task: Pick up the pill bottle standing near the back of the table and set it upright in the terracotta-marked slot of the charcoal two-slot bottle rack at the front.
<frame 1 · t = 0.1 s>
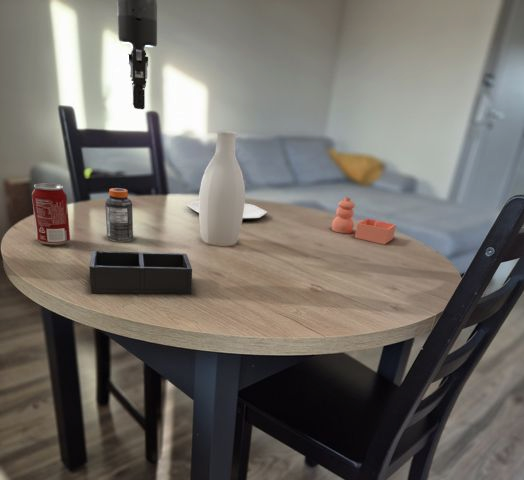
hand: (138, 107, 102), 28 cm above the table, tool pointing down, fingers open, 8 cm apart
pill bottle: (120, 239, 114), on the table
bottle: (219, 242, 121), on the table
soda can: (53, 243, 106), on the table
plate: (227, 213, 150), on the table
pottery: (359, 235, 144), on the table
bottle rack: (141, 284, 90), on the table
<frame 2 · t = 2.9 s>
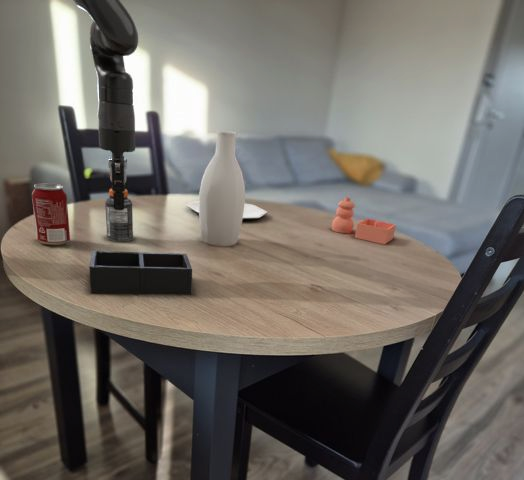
hand: (119, 206, 110), 8 cm above the table, tool pointing down, fingers closed on pill bottle, 6 cm apart
pill bottle: (120, 239, 114), on the table, touching gripper
everything else where it was.
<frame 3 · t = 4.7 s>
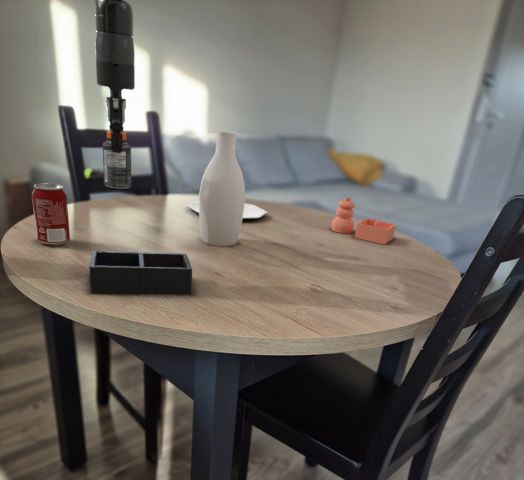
hand: (117, 150, 105), 20 cm above the table, tool pointing down, fingers closed on pill bottle, 6 cm apart
pill bottle: (117, 187, 108), point 12 cm above the table, touching gripper
everything else where it was.
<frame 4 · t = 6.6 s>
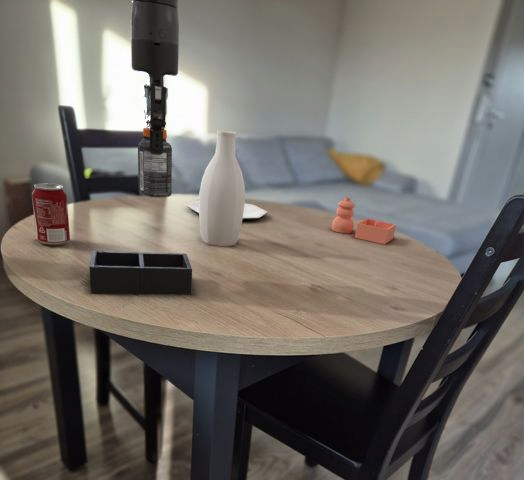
hand: (155, 151, 85), 23 cm above the table, tool pointing down, fingers closed on pill bottle, 6 cm apart
pill bottle: (155, 196, 89), point 15 cm above the table, touching gripper
everything else where it was.
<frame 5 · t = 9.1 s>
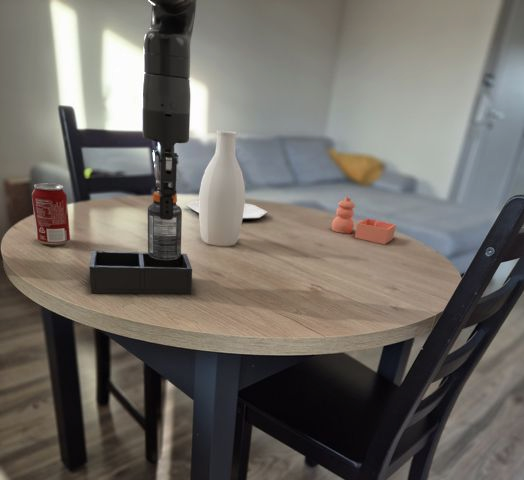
hand: (164, 214, 85), 13 cm above the table, tool pointing down, fingers closed on pill bottle, 6 cm apart
pill bottle: (164, 256, 88), point 5 cm above the table, touching gripper
everything else where it was.
when the fingers open (9 cm above the table, at t = 10.8 s): pill bottle stays where it is, resting on bottle rack.
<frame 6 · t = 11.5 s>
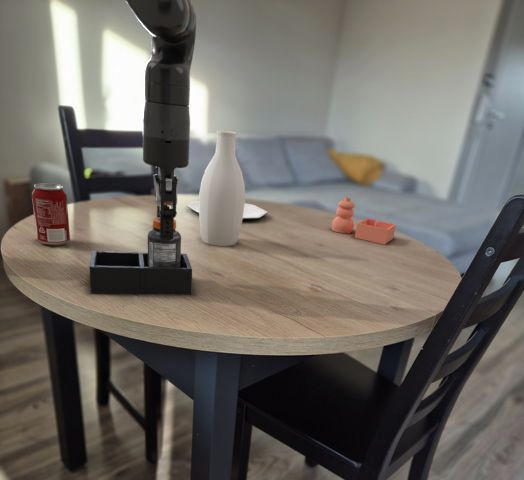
hand: (164, 232, 86), 10 cm above the table, tool pointing down, fingers open, 8 cm apart
pill bottle: (164, 280, 90), point 1 cm above the table, touching bottle rack
everything else where it was.
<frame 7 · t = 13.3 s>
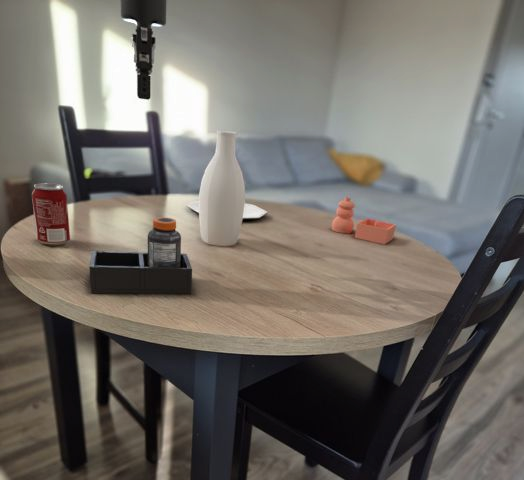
hand: (143, 98, 87), 31 cm above the table, tool pointing down, fingers open, 8 cm apart
nothing on the table moved.
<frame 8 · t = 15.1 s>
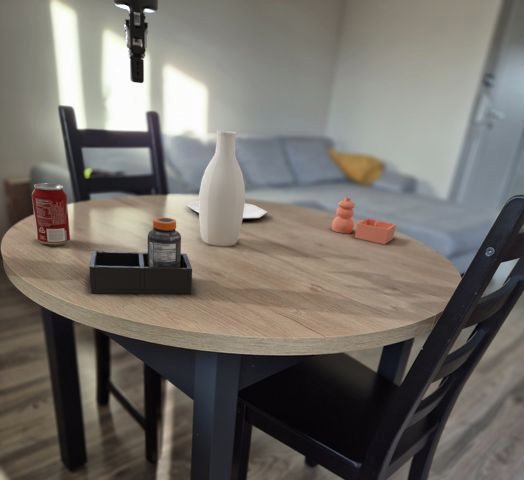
hand: (136, 82, 90), 33 cm above the table, tool pointing down, fingers open, 8 cm apart
nothing on the table moved.
at the end: pill bottle 0.2 cm from the target spot in the bottle rack, point 0.8 cm above the bottle rack's base; pill bottle tilted 0°; the gripper is holding nothing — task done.
